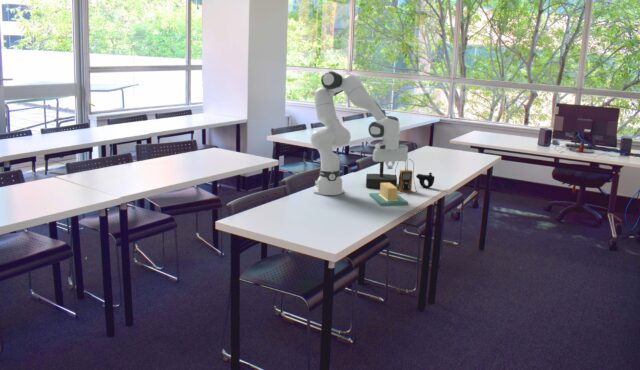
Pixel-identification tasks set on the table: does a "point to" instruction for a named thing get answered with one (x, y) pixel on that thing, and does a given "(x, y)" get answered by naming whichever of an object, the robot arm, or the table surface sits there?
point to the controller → (425, 177)
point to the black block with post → (380, 178)
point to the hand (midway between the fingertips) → (389, 169)
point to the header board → (384, 202)
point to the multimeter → (405, 180)
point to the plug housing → (388, 191)
